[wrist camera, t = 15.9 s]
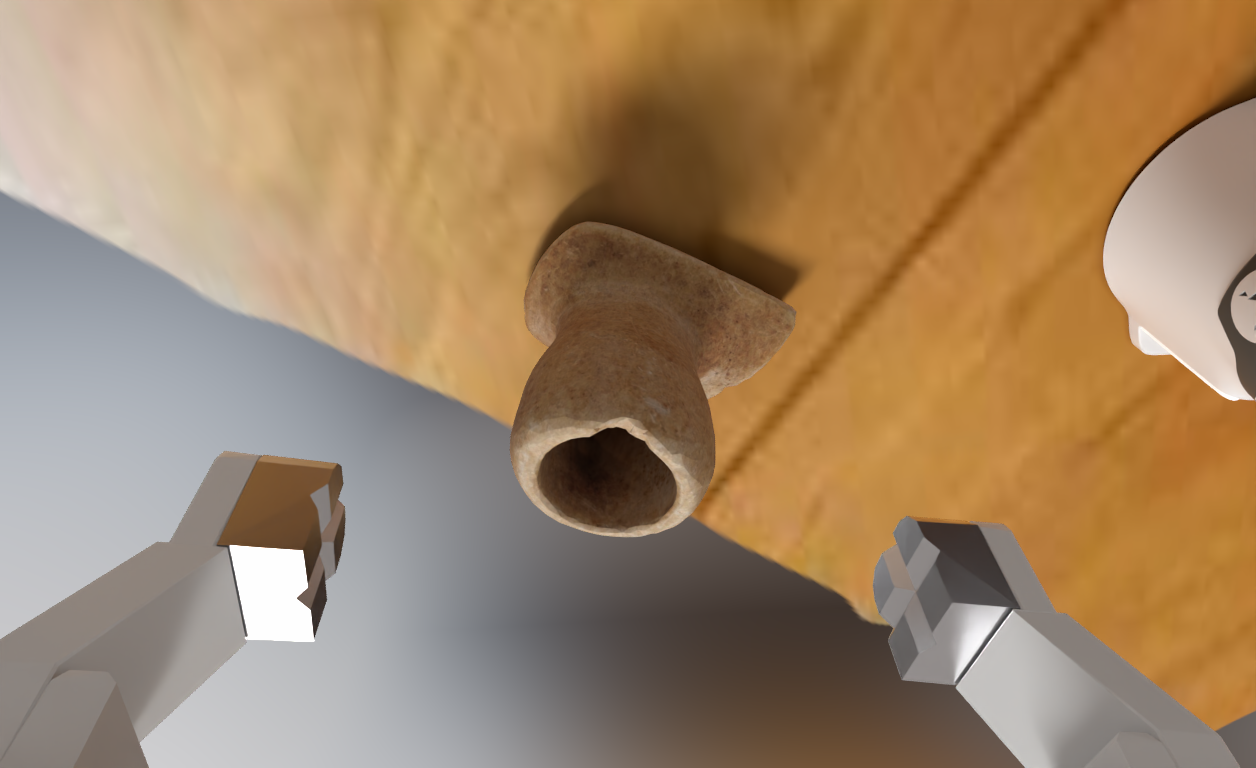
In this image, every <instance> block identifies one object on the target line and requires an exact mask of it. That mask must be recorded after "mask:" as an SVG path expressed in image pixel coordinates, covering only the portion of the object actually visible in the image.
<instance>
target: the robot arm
mask: <svg viewBox="0 0 1256 768" xmlns="http://www.w3.org/2000/svg"><path fill="white" fill-rule="evenodd" d="M1103 265H1104V272H1105V276H1106V280H1107V282H1108V285H1109V287H1110V289H1111V291H1112V292H1113V294H1114V295H1115V297H1116V298H1117V299H1118V300H1119V301H1120V303H1121V304H1122V305H1123V306H1124V308H1125V309H1126V311H1127V313H1128V315H1129V332H1130V338H1131V341H1132V343H1133V344H1134V345H1135V346H1136V347H1137V348H1138V349H1140V350H1141V351H1142V352H1143V353H1145V354H1148V355H1168V354H1172V355H1173V356H1174V357H1175V358H1176V359H1178V360H1179V361H1180V362H1181V363H1182V364H1184V365H1185V366H1186V367H1187V368H1188V369H1190V370H1191V371H1192V372H1193V373H1194V374H1196V375H1197V376H1198V377H1199V378H1201V379H1202V380H1203V381H1204V382H1205V383H1207V384H1208V385H1209V386H1210V387H1212V388H1213V389H1214V390H1215V391H1216V392H1218V393H1219V394H1220V395H1222V396H1223V397H1225V398H1227V399H1230V400H1234V401H1235V400H1238V399H1244V400H1255V401H1256V98H1254V99H1251V100H1249V101H1246V102H1244V103H1241V104H1238V105H1236V106H1233V107H1231V108H1229V109H1226V110H1224V111H1222V112H1220V113H1218V114H1216V115H1214V116H1212V117H1210V118H1208V119H1207V120H1205V121H1203V122H1201V123H1200V124H1198V125H1197V126H1195V127H1193V128H1192V129H1190V130H1189V131H1187V132H1186V133H1185V134H1183V135H1182V136H1180V137H1179V138H1178V139H1176V140H1175V141H1174V142H1173V143H1171V144H1170V145H1169V146H1168V147H1167V148H1165V149H1164V150H1163V151H1162V152H1161V153H1160V154H1159V155H1158V156H1157V157H1156V158H1155V159H1154V160H1153V161H1152V162H1151V163H1150V164H1149V165H1148V166H1147V167H1146V168H1145V169H1144V170H1143V171H1142V172H1141V174H1140V175H1139V176H1138V177H1137V178H1136V180H1135V181H1134V182H1133V184H1132V185H1131V186H1130V188H1129V189H1128V191H1127V192H1126V194H1125V195H1124V197H1123V198H1122V200H1121V202H1120V204H1119V205H1118V207H1117V209H1116V211H1115V213H1114V216H1113V218H1112V220H1111V223H1110V225H1109V228H1108V232H1107V235H1106V239H1105V244H1104V253H1103ZM342 486H343V476H342V467H341V466H340V465H339V464H338V463H328V462H321V461H312V460H304V459H295V458H286V457H278V456H269V455H263V456H262V455H254V454H246V453H237V452H229V451H224V452H223V453H222V454H221V455H219V456H218V457H217V458H216V459H215V460H214V462H213V464H212V466H211V468H210V469H209V471H208V473H207V475H206V477H205V478H204V480H203V482H202V484H201V486H200V487H199V489H198V491H197V493H196V495H195V497H194V498H193V500H192V502H191V504H190V506H189V507H188V509H187V511H186V513H185V515H184V517H183V518H182V520H181V522H180V524H179V526H178V528H177V530H176V531H175V533H174V535H173V537H172V538H171V540H170V542H169V543H168V542H156V543H155V544H153V545H151V546H150V547H148V548H146V549H145V550H143V551H142V552H140V553H138V554H137V555H135V556H134V557H132V558H130V559H129V560H127V561H125V562H124V563H122V564H121V565H119V566H117V567H116V568H114V569H113V570H111V571H110V572H108V573H106V574H105V575H103V576H101V577H100V578H98V579H96V580H95V581H93V582H92V583H90V584H89V585H87V586H85V587H84V588H82V589H80V590H79V591H77V592H76V593H74V594H72V595H71V596H69V597H68V598H66V599H65V600H63V601H61V602H59V603H58V604H56V605H55V606H53V607H51V608H50V609H48V610H47V611H45V612H43V613H42V614H40V615H39V616H37V617H35V618H34V619H32V620H30V621H29V622H27V623H26V624H24V625H22V626H21V627H19V628H18V629H16V630H14V631H13V632H11V633H10V634H8V635H6V636H5V637H3V638H2V639H0V768H149V767H148V764H147V762H146V759H145V756H144V754H143V751H142V748H141V746H140V742H141V741H142V740H143V739H144V738H145V737H146V736H147V735H148V734H149V733H150V732H151V731H152V730H153V729H154V728H155V727H157V726H158V725H159V724H160V723H161V722H162V721H163V720H164V719H165V718H166V717H167V716H168V715H169V714H170V713H171V712H173V711H174V710H175V709H176V708H177V707H178V706H179V705H180V704H181V703H182V702H183V701H184V700H185V699H187V698H188V697H189V696H190V695H191V694H192V693H193V692H194V691H195V690H196V689H197V688H198V687H199V686H201V685H202V684H203V683H204V682H205V681H206V680H207V679H208V678H209V677H210V676H211V675H212V674H213V673H215V672H216V671H217V670H218V669H219V668H220V667H221V666H222V665H223V664H224V663H225V662H226V661H227V660H228V659H230V658H231V657H232V656H233V655H234V654H235V653H236V652H237V651H238V650H239V649H240V648H241V647H242V646H243V645H244V644H246V639H266V640H291V641H292V640H293V641H314V638H315V635H316V632H317V629H318V626H319V623H320V620H321V617H322V614H323V611H324V608H325V605H326V602H327V594H326V582H325V581H326V580H327V579H328V578H330V577H331V576H332V575H334V574H335V573H336V570H337V566H338V563H339V560H340V557H341V552H342V547H343V541H344V535H345V519H346V518H345V506H344V505H343V504H342V503H341V502H340V501H339V500H338V498H339V495H340V492H341V489H342ZM893 535H894V537H895V540H896V543H897V544H896V545H895V546H893V547H891V548H890V549H888V550H886V551H885V552H883V553H882V555H881V557H880V559H879V561H878V563H877V565H876V567H875V572H874V581H873V590H874V598H875V602H876V605H877V609H878V612H879V615H881V616H882V617H883V618H884V619H885V620H886V621H887V622H888V623H889V624H890V625H891V626H892V627H893V630H892V633H891V635H890V637H889V639H888V641H889V644H890V647H891V650H892V653H893V656H894V659H895V662H896V664H897V667H898V670H899V673H900V676H901V679H902V680H908V681H919V682H930V683H941V684H951V685H957V686H956V689H957V690H958V691H959V692H960V693H961V694H962V696H963V697H964V698H965V699H966V700H967V701H968V703H969V704H970V705H971V706H972V707H973V708H974V709H975V711H976V712H977V713H978V714H979V715H980V716H981V717H982V719H983V720H984V721H985V722H986V723H987V724H988V725H989V727H990V728H991V729H992V730H993V731H994V732H995V733H996V734H997V736H998V737H999V738H1000V739H1001V740H1002V741H1003V743H1004V744H1005V745H1006V746H1007V747H1008V748H1009V749H1010V750H1011V752H1012V753H1013V754H1014V755H1015V756H1016V757H1017V759H1018V760H1019V761H1020V762H1021V763H1022V764H1023V766H1024V767H1025V768H1240V766H1239V764H1238V763H1237V761H1236V760H1235V758H1234V757H1233V755H1232V754H1231V752H1230V751H1229V749H1228V748H1227V746H1226V744H1225V743H1224V741H1223V740H1222V738H1221V737H1220V735H1218V734H1217V733H1216V732H1215V731H1213V730H1212V729H1211V728H1210V727H1208V726H1207V725H1206V724H1205V723H1203V722H1202V721H1201V720H1200V719H1198V718H1197V717H1196V716H1195V715H1193V714H1192V713H1191V712H1190V711H1188V710H1187V709H1186V708H1184V707H1183V706H1182V705H1181V704H1179V703H1178V702H1177V701H1176V700H1174V699H1173V698H1172V697H1171V696H1169V695H1168V694H1167V693H1166V692H1164V691H1163V690H1162V689H1161V688H1159V687H1158V686H1157V685H1156V684H1154V683H1153V682H1152V681H1150V680H1149V679H1148V678H1147V677H1145V676H1144V675H1143V674H1142V673H1140V672H1139V671H1138V670H1137V669H1135V668H1134V667H1133V666H1132V665H1130V664H1129V663H1128V662H1127V661H1125V660H1124V659H1123V658H1122V657H1120V656H1119V655H1118V654H1116V653H1115V652H1114V651H1113V650H1111V649H1110V648H1109V647H1108V646H1106V645H1105V644H1104V643H1103V642H1101V641H1100V640H1099V639H1098V638H1096V637H1095V636H1094V635H1093V634H1091V633H1090V632H1089V631H1088V630H1086V629H1085V628H1084V627H1082V626H1081V625H1080V624H1079V623H1077V622H1076V621H1075V620H1074V619H1072V618H1071V617H1070V616H1069V615H1067V614H1065V613H1057V612H1056V611H1055V609H1054V607H1053V605H1052V603H1051V602H1050V600H1049V598H1048V596H1047V594H1046V593H1045V591H1044V589H1043V587H1042V585H1041V584H1040V582H1039V580H1038V578H1037V576H1036V575H1035V573H1034V571H1033V569H1032V567H1031V566H1030V564H1029V562H1028V560H1027V558H1026V557H1025V555H1024V553H1023V551H1022V549H1021V548H1020V546H1019V544H1018V542H1017V540H1016V539H1015V537H1014V535H1013V533H1012V531H1011V530H1010V529H1009V528H1007V527H1006V526H1005V525H1004V524H999V523H986V522H974V521H970V522H968V521H961V520H949V519H937V518H925V517H913V516H906V517H905V518H904V519H902V520H901V521H900V522H899V523H898V525H897V527H896V529H895V530H894V532H893Z"/></svg>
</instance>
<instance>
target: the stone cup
mask: <svg viewBox="0 0 1256 768" xmlns="http://www.w3.org/2000/svg"><path fill="white" fill-rule="evenodd" d="M524 309H525V322H526V326H527V328H528V330H529V331H530V332H531V334H532V335H533V336H534V337H535V338H536V339H538V340H539V341H540V342H542V343H543V344H544V345H546V346H548V347H549V348H548V349H547V350H546V352H545V353H544V354H543V355H542V357H541V358H540V359H539V361H538V363H537V364H536V366H535V367H534V369H533V371H532V373H531V375H530V377H529V379H528V381H527V383H526V386H525V388H524V391H523V394H522V397H521V401H520V404H519V407H518V410H517V413H516V417H515V420H514V424H513V428H512V432H511V439H510V454H511V460H512V461H511V462H512V465H513V469H514V472H515V475H516V477H517V479H518V481H519V483H520V485H521V487H522V488H523V490H524V491H525V493H526V494H527V496H528V497H529V498H530V499H531V501H532V502H533V503H534V504H535V505H536V506H537V507H538V508H539V509H541V510H542V511H543V512H544V513H545V514H546V515H548V516H550V517H551V518H553V519H555V520H556V521H558V522H560V523H563V524H565V525H568V526H571V527H573V528H576V529H579V530H582V531H584V532H589V533H594V534H598V535H605V536H617V537H638V536H645V535H648V534H651V533H658V532H661V531H663V530H666V529H669V528H672V527H674V526H676V525H678V524H679V523H680V522H682V521H683V520H684V519H686V518H687V517H688V516H689V515H690V514H691V513H692V512H693V511H694V510H695V509H696V507H697V506H698V505H699V503H700V502H701V500H702V498H703V497H704V495H705V493H706V491H707V489H708V486H709V484H710V481H711V479H712V476H713V473H714V468H715V434H714V429H713V423H712V417H711V412H710V407H709V404H708V400H707V399H709V398H711V397H713V396H715V395H717V394H719V393H720V392H721V391H722V390H723V389H724V388H725V387H730V386H735V385H738V384H739V383H741V382H742V381H744V380H746V379H748V378H751V377H752V376H753V375H754V374H755V373H756V372H757V371H758V370H760V369H761V368H762V367H763V366H764V365H765V364H766V363H768V362H769V360H770V359H771V358H772V356H773V355H774V354H775V353H776V352H777V351H778V350H779V349H780V348H781V346H782V345H783V344H784V342H785V341H786V340H787V338H788V337H789V335H790V334H791V332H792V330H793V328H794V326H795V316H796V311H795V310H794V309H793V308H792V307H791V306H790V305H788V304H786V303H785V302H783V301H781V300H779V299H777V298H775V297H773V296H771V295H769V294H767V293H765V292H764V291H762V290H761V289H759V288H757V287H755V286H753V285H751V284H749V283H747V282H745V281H743V280H741V279H739V278H736V277H734V276H732V275H730V274H728V273H726V272H723V271H721V270H719V269H717V268H715V267H713V266H711V265H709V264H707V263H705V262H703V261H701V260H699V259H697V258H695V257H692V256H690V255H688V254H686V253H684V252H681V251H679V250H677V249H675V248H673V247H670V246H668V245H665V244H663V243H660V242H658V241H655V240H653V239H650V238H648V237H645V236H643V235H640V234H638V233H635V232H632V231H630V230H627V229H624V228H621V227H617V226H613V225H609V224H604V223H598V222H589V221H588V222H583V223H578V224H576V225H574V226H572V227H570V228H569V229H568V230H566V231H565V232H564V233H562V234H561V235H560V236H559V237H558V238H557V239H556V240H555V241H554V242H553V243H552V244H551V245H550V247H549V248H548V249H547V250H546V251H545V253H544V254H543V255H542V257H541V258H540V260H539V261H538V263H537V265H536V267H535V269H534V271H533V273H532V276H531V278H530V280H529V283H528V286H527V289H526V292H525V297H524Z"/></svg>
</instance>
